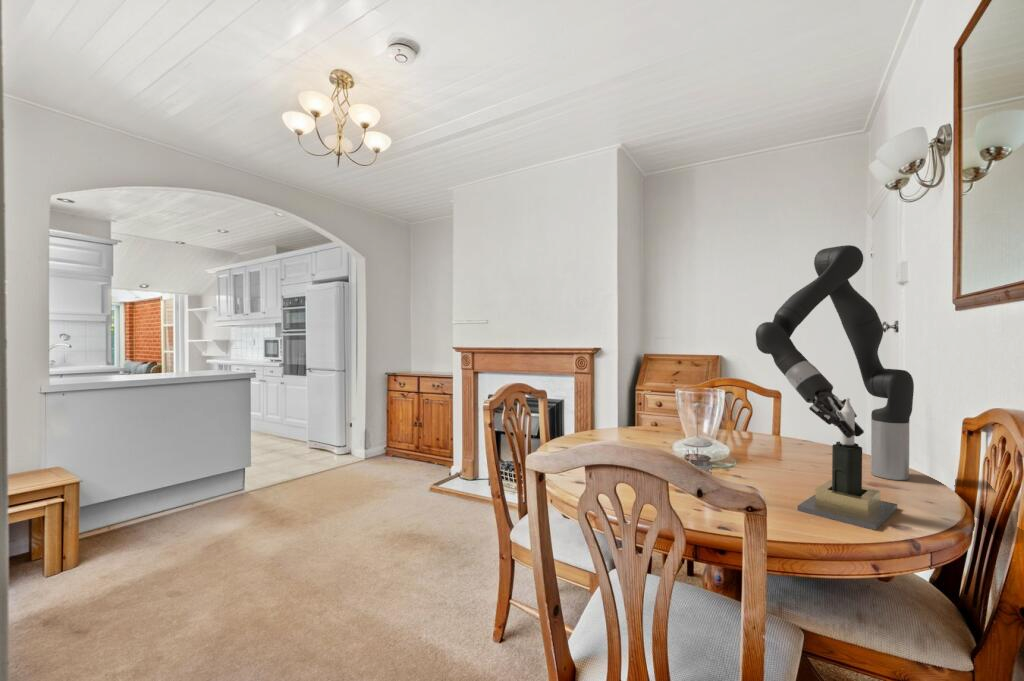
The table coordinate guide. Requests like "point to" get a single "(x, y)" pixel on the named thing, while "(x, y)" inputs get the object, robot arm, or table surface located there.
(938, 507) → the table surface
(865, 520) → the candle plate
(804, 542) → the table surface
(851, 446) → the candle
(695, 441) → the french press
